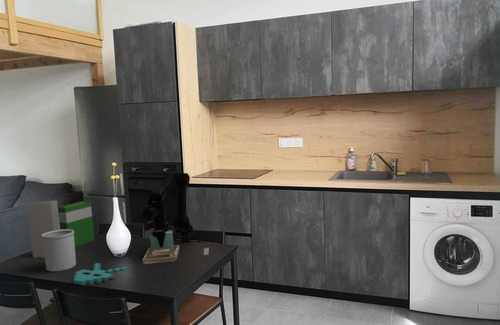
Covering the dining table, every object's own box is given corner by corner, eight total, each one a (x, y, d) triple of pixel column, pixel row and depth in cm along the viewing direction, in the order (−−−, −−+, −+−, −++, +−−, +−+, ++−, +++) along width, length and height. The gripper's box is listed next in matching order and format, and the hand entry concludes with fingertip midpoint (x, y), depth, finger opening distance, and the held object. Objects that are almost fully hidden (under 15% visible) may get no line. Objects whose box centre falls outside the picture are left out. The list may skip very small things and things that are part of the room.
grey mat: (184, 250, 223) (184, 250, 223) (208, 248, 224) (208, 247, 224) (182, 257, 212) (182, 256, 212) (208, 255, 213) (208, 254, 213)
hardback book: (86, 239, 262) (82, 201, 259) (94, 240, 258) (90, 201, 255) (61, 247, 246) (56, 207, 244) (69, 248, 243) (65, 207, 240)
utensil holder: (64, 260, 221) (60, 227, 219) (84, 263, 214) (80, 229, 212) (38, 270, 208) (34, 235, 206) (58, 273, 201) (54, 237, 199)
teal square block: (152, 253, 219) (150, 233, 217) (174, 251, 219) (172, 231, 218) (151, 255, 216) (149, 234, 214) (173, 253, 216) (171, 232, 215)
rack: (149, 253, 223) (148, 247, 223) (179, 250, 224) (179, 245, 224) (142, 266, 203) (142, 260, 203) (176, 262, 204) (175, 257, 204)
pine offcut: (153, 253, 210) (153, 250, 209) (169, 251, 210) (169, 248, 209) (152, 255, 206) (151, 252, 205) (168, 254, 206) (168, 251, 205)
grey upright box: (63, 253, 234) (56, 200, 230) (57, 256, 228) (51, 202, 225) (39, 254, 235) (32, 201, 232) (33, 257, 230) (26, 203, 227)
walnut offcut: (149, 256, 209) (149, 253, 209) (169, 254, 211) (169, 251, 210) (148, 259, 205) (148, 256, 205) (169, 256, 206) (169, 254, 206)
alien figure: (97, 267, 207) (62, 282, 190) (97, 263, 207) (62, 277, 189) (128, 272, 198) (94, 288, 180) (127, 267, 198) (93, 283, 180)
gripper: (146, 212, 224) (149, 241, 226) (140, 221, 206) (143, 252, 207) (167, 211, 225) (170, 239, 227) (163, 219, 206) (166, 249, 208)
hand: (162, 245), depth 217 cm, fingers open, 8 cm apart
